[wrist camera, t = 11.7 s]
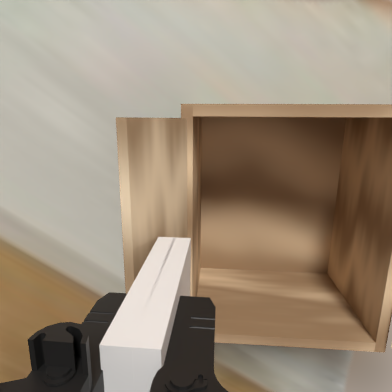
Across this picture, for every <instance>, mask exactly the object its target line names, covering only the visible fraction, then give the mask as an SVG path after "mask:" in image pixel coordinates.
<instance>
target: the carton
mask: <svg viewBox="0 0 392 392" xmlns="http://www.w3.org/2000/svg"><path fill="white" fill-rule="evenodd" d="M181 118H187V238H191V269H190V296H194V297H210V299H211V300H212V302H213V304H214V305H215V307H216V312H215V341H214V342H218V343H235V344H252V345H269V346H286V347H303V348H320V349H337V350H354V351H372V352H385V348H386V343H387V338H388V332H389V326H390V322H391V316H392V105H381V104H181Z"/></svg>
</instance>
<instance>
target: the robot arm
mask: <svg viewBox="0 0 392 392" xmlns="http://www.w3.org/2000/svg"><path fill="white" fill-rule="evenodd" d="M190 269H191V238H176V237H158V239H157V240H156V242H155V244H154V246H153V248H152V250H151V251H150V253H149V255H148V257H147V259H146V260H145V262H144V264H143V266H142V268H141V270H140V271H139V273H138V275H137V277H136V279H135V281H134V282H133V284H132V286H131V288H130V290H129V292H128V293H127V294H126V293H108V294H106V295H105V296H104V297H102V298H101V299H99V300H98V301H97V302H96V304H95V305H94V307H93V308H92V309H91V311H90V313H89V314H88V315H87V317H86V318H85V320H84V322H82V324H77V323H72V322H66V323H57V324H54V325H50V326H47V327H45V328H43V329H41V330H39V331H37V332H36V333H35V334H34V335H32V336H31V337H30V338H29V339H28V345H29V352H30V359H31V366H32V371H31V373H30V374H29V375H28V377H27V378H24V379H20V380H15V381H10V382H4V383H0V392H228V391H227V390H226V389H224V388H223V387H222V386H221V385H220V383H219V382H218V381H217V379H216V376H215V374H214V341H215V312H216V307H215V305H214V304H213V302H212V300H211V299H210V297H194V296H190Z"/></svg>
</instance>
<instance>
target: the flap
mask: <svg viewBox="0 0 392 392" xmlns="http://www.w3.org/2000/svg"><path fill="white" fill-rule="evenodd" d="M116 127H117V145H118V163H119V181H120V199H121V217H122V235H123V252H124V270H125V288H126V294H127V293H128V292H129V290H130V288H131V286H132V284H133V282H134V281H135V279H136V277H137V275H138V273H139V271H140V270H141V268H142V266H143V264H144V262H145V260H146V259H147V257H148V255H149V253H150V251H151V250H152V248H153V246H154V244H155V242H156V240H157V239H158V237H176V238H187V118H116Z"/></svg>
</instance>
